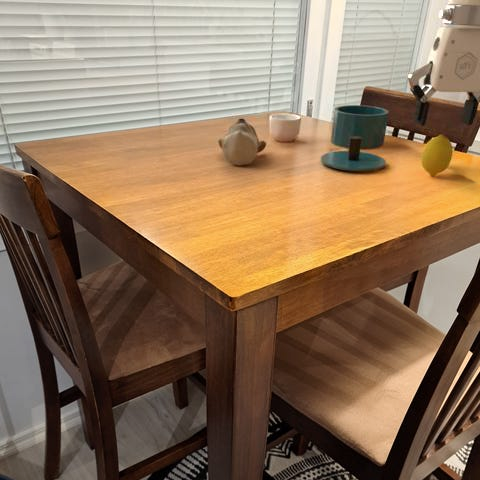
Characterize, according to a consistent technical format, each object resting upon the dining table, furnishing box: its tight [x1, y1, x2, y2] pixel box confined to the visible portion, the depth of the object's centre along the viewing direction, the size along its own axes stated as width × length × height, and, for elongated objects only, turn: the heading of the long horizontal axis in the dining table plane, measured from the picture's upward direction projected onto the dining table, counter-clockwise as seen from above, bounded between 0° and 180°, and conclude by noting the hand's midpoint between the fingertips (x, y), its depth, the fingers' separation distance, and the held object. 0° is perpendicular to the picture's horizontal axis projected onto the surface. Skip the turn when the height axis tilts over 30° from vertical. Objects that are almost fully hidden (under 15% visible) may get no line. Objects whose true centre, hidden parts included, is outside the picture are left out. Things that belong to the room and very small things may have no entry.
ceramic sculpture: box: [217, 117, 267, 167], centre depth 106 cm, size 11×9×15 cm
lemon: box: [421, 134, 453, 177], centre depth 97 cm, size 6×6×8 cm
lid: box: [320, 136, 387, 172], centre depth 104 cm, size 14×14×6 cm
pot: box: [330, 104, 390, 150], centre depth 120 cm, size 13×13×8 cm
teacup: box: [268, 113, 302, 143], centre depth 123 cm, size 10×8×5 cm
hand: (442, 123), depth 94 cm, fingers open, 9 cm apart
